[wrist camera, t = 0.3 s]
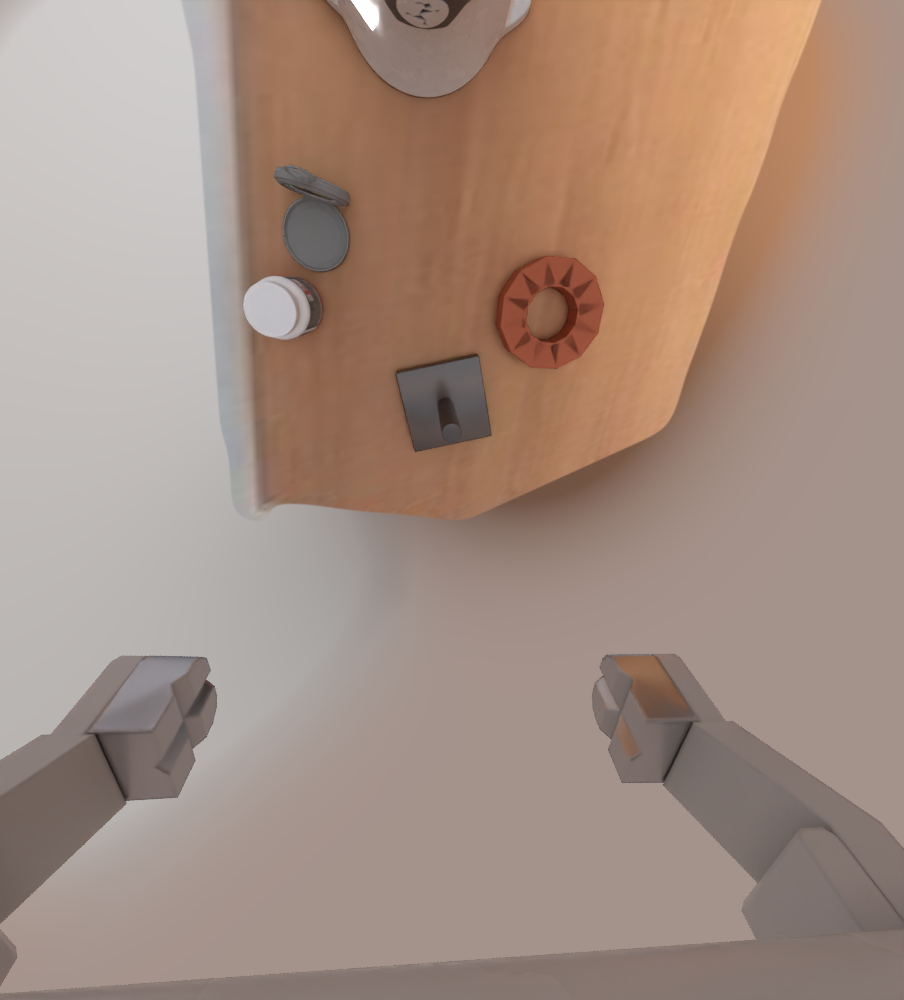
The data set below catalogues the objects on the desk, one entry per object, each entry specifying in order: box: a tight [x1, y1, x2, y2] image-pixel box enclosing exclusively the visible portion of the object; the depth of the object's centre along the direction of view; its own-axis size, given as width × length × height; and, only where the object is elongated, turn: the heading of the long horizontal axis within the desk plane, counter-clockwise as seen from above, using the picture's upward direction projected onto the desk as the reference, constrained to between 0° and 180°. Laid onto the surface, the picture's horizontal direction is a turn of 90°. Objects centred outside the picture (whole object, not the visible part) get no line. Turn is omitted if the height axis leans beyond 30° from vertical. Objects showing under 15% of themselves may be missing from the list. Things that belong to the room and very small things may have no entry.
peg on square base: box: [396, 354, 491, 452], centre depth 48 cm, size 10×10×12 cm
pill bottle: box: [243, 276, 324, 340], centre depth 43 cm, size 6×6×10 cm
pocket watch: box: [274, 165, 350, 272], centre depth 40 cm, size 8×8×10 cm
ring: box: [496, 256, 604, 369], centre depth 48 cm, size 11×11×3 cm
